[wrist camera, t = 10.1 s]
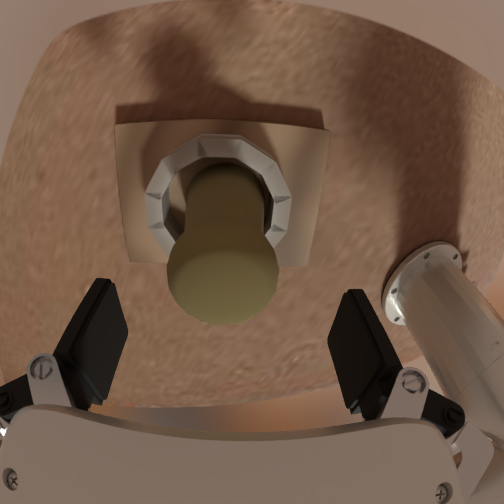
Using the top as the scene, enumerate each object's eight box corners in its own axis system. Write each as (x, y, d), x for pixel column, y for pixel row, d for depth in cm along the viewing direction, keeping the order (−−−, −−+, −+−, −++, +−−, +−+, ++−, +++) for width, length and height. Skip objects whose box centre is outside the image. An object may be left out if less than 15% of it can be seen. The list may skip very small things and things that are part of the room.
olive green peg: (181, 228, 21) (150, 332, 12) (192, 155, 18) (153, 219, 9) (253, 241, 23) (271, 348, 13) (273, 171, 20) (315, 248, 10)
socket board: (324, 129, 19) (344, 136, 16) (303, 257, 26) (313, 283, 22) (122, 122, 18) (100, 129, 14) (134, 253, 24) (121, 278, 21)
